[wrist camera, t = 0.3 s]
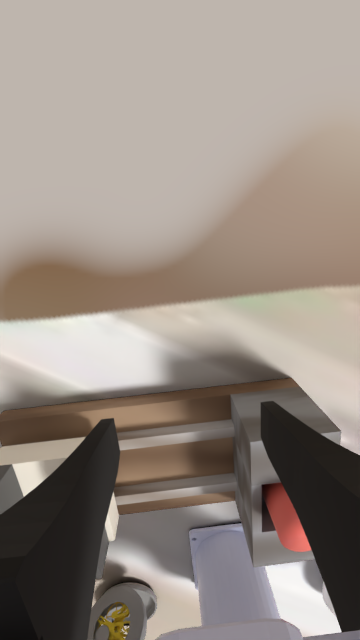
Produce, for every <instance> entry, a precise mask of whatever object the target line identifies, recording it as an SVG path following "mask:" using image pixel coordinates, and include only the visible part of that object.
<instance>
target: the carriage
mask: <svg viewBox="0 0 360 640" xmlns="http://www.w3.org/2000/svg"><path fill="white" fill-rule="evenodd" d="M85 438H86V437H81V438H72V439H64V440H55V441H47V442H38V443H30V444H21V445H12V446H4V447H1V448H0V514H2V513H3V512H5V511H6V510H7V509H9V508H10V507H12V506H13V505H14V504H16V503H17V502H18V501H19V500H21V499H22V498H23V497H24V496H26V495H27V494H28V493H29V492H31V491H32V490H33V489H35V488H36V487H37V486H38V485H39V484H40V483H42V482H43V481H44V480H45V479H46V478H47V477H48V476H49V475H51V474H52V473H53V472H54V471H55V470H56V469H57V468H58V467H59V466H60V465H61V464H62V463H63V462H64V461H65V460H66V459H67V458H68V457H69V456H70V454H71V453H72V452H73V451H74V450H75V449H76V448H77V447H78V446H79V445H80V443H81V442H82V441H83V440H84V439H85ZM118 520H119V514H118V510H117V505H116V501H115V496H114V492H113V495H112V498H111V502H110V506H109V510H108V514H107V518H106V522H105V526H104V531H103V535H102V541H101V547H100V553H99V559H98V565H97V572H96V579H101V578H102V575H103V570H104V565H105V559H106V554H107V549H108V544H109V541H115V537H116V531H117V526H118Z"/></svg>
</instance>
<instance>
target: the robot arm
mask: <svg viewBox="0 0 360 640" xmlns="http://www.w3.org/2000/svg"><path fill="white" fill-rule="evenodd" d="M261 439H262V442H263V445H264V448H265V450H266V453H267V455H268V458H269V460H270V462H271V464H272V466H273V468H274V470H275V472H276V474H277V475H278V477H279V479H280V481H281V483H282V485H283V487H284V489H285V491H286V493H287V495H288V497H289V499H290V501H291V503H292V505H293V507H294V509H295V511H296V513H297V515H298V518H299V520H300V523H301V525H302V527H303V530H304V532H305V535H306V537H307V540H308V542H309V545H310V547H311V550H312V552H313V555H314V557H315V560H316V563H317V565H318V568H319V570H320V573H321V576H322V578H323V581H324V584H325V586H326V589H327V592H328V595H329V597H330V600H331V603H332V605H333V608H334V611H335V614H336V617H337V620H338V622H339V625H340V628H341V631H342V632H341V633H334V634H326V635H318V636H310V637H303V638H302V635H301V632H300V630H299V629H298V628H297V627H295V626H294V625H292V624H290V623H288V622H286V621H285V620H283V619H281V618H280V615H279V611H278V608H277V605H276V602H275V598H274V595H273V592H272V589H271V585H270V582H269V579H268V575H267V572H266V569H265V566H261V567H253V564H252V560H251V557H250V553H249V549H248V545H247V542H246V538H245V534H244V531H243V527H242V523H238V524H230V525H222V526H214V527H206V528H198V529H192V530H190V531H189V539H190V547H191V556H192V564H193V572H194V580H195V588H196V589H197V590H198V591H199V602H200V613H201V624H202V626H200V627H192V628H185V629H178V630H175V631H171V632H168V633H165V634H161V635H160V636H159V637H158V638H157V639H155V640H360V455H358V454H356V453H354V452H352V451H350V450H348V449H346V448H344V447H342V446H340V445H339V444H337V443H335V442H333V441H331V440H330V439H328V438H326V437H325V436H323V435H321V434H320V433H318V432H317V431H315V430H314V429H312V428H311V427H309V426H308V425H306V424H305V423H303V422H302V421H300V420H299V419H297V418H296V417H295V416H293V415H292V414H290V413H289V412H288V411H286V410H285V409H284V408H282V407H281V406H280V405H278V404H277V403H275V402H274V401H266V402H261ZM119 460H120V448H119V442H118V437H117V432H116V427H115V421H114V418H109V419H101V420H100V421H99V422H98V424H97V425H96V426H95V427H94V428H93V429H92V431H91V432H90V433H89V434H88V435H87V437H86V438H85V439H84V440H83V441H82V442H81V443H80V445H79V446H78V447H77V448H76V449H75V450H74V451H73V452H72V453H71V454H70V456H69V457H68V458H67V459H66V460H65V461H64V462H63V463H62V464H61V465H60V466H59V467H58V468H57V469H56V470H55V471H54V472H53V473H52V474H51V475H49V476H48V477H47V478H46V479H45V480H44V481H43V482H42V483H40V484H39V485H38V486H37V487H36V488H35V489H33V490H32V491H31V492H29V493H28V494H27V495H26V496H24V497H23V498H22V499H21V500H19V501H18V502H17V503H16V504H14V505H13V506H12V507H10V508H9V509H7V510H6V511H5V512H3V513H2V514H0V640H87V638H88V630H89V622H90V615H91V607H92V600H93V593H94V586H95V579H96V572H97V565H98V559H99V553H100V547H101V541H102V535H103V531H104V526H105V522H106V518H107V514H108V510H109V506H110V502H111V498H112V495H113V491H114V486H115V482H116V478H117V474H118V467H119Z"/></svg>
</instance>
